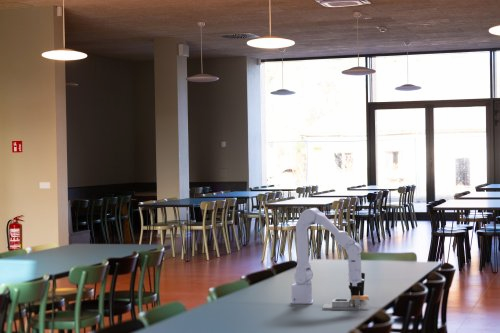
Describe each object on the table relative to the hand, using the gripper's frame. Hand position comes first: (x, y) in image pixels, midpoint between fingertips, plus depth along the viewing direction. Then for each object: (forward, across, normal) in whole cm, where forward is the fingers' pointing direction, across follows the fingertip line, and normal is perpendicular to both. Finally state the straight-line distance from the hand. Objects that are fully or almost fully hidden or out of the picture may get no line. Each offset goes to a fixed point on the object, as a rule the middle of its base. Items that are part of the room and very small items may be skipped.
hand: (355, 299), depth 359 cm
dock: (+2, -8, +6) cm, 10 cm away
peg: (+2, 0, 0) cm, 2 cm away
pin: (-2, -8, -2) cm, 8 cm away
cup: (+2, +14, 0) cm, 14 cm away
